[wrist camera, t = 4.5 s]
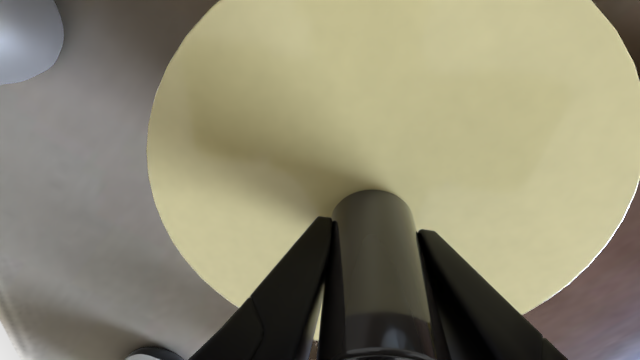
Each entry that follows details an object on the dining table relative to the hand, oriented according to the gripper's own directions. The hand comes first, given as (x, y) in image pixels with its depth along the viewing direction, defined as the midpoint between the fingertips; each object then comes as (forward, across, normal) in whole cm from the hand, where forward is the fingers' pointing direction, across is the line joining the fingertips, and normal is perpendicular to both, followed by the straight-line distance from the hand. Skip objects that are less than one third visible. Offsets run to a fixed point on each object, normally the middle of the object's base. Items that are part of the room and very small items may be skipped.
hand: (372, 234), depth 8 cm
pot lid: (+1, 0, 0) cm, 1 cm away
